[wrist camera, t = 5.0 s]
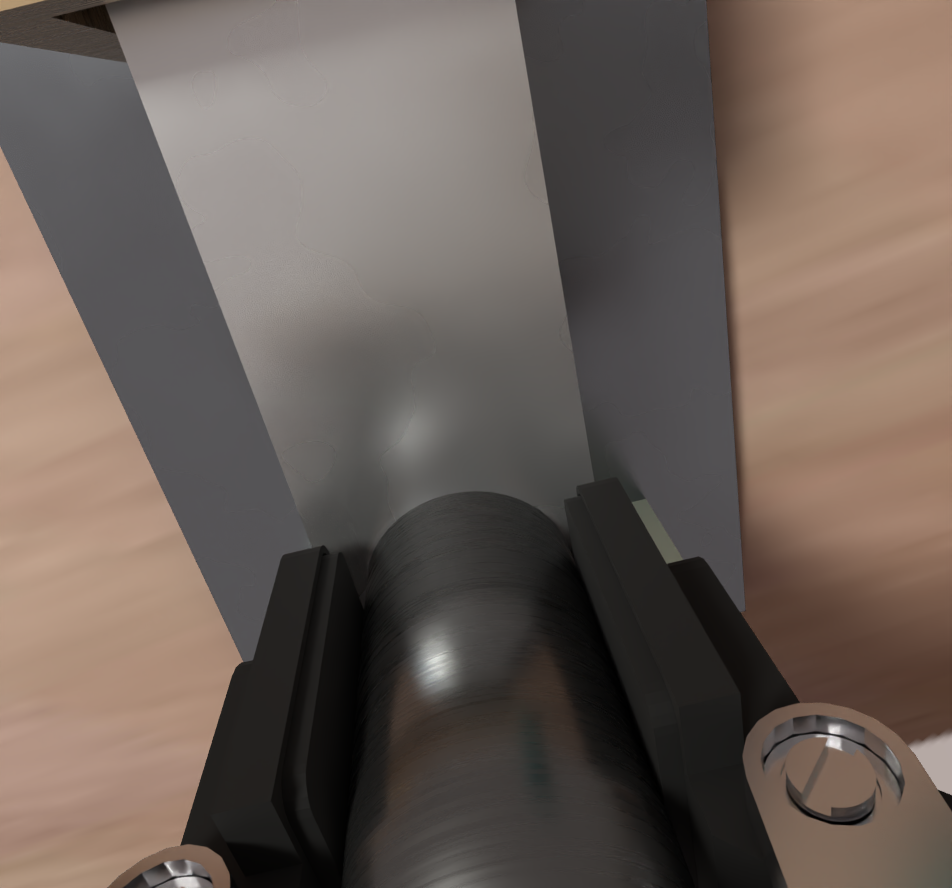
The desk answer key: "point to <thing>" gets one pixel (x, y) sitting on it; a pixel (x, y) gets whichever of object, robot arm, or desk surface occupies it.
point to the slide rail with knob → (577, 245)
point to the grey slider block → (416, 414)
